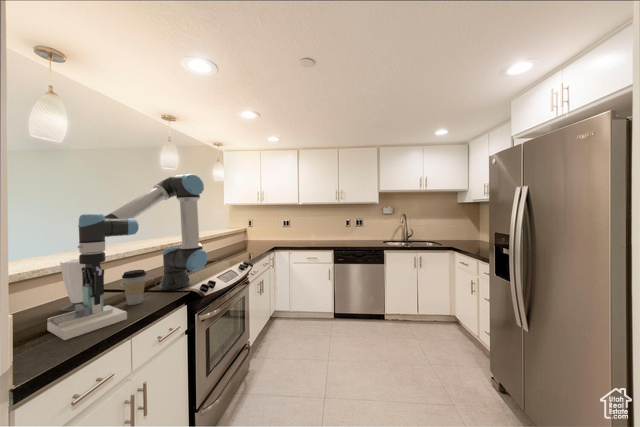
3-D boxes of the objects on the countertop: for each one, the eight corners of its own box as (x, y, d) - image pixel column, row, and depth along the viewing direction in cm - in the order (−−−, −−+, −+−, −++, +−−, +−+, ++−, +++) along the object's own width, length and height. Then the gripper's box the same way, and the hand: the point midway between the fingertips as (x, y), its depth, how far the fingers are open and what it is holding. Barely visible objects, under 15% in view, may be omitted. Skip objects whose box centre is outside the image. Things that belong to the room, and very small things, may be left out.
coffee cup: (133, 307, 109) (132, 274, 109) (116, 305, 111) (116, 273, 111) (151, 299, 119) (151, 269, 119) (136, 298, 121) (135, 269, 121)
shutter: (79, 313, 95) (79, 303, 95) (89, 317, 91) (89, 307, 91) (51, 321, 88) (51, 311, 88) (60, 326, 84) (60, 315, 84)
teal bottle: (83, 316, 94) (82, 278, 94) (98, 312, 98) (97, 275, 98) (88, 318, 92) (87, 280, 92) (103, 314, 96) (102, 277, 96)
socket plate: (108, 312, 104) (108, 301, 104) (127, 319, 97) (126, 308, 97) (47, 330, 88) (47, 318, 88) (64, 340, 81) (64, 327, 81)
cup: (52, 312, 105) (52, 263, 105) (74, 302, 116) (73, 258, 116) (83, 310, 107) (82, 261, 107) (101, 300, 118) (101, 257, 118)
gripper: (70, 252, 96) (71, 310, 96) (89, 255, 88) (90, 319, 88) (94, 250, 103) (95, 304, 103) (114, 252, 95) (115, 311, 95)
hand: (93, 311), depth 95 cm, fingers closed on teal bottle, 5 cm apart
